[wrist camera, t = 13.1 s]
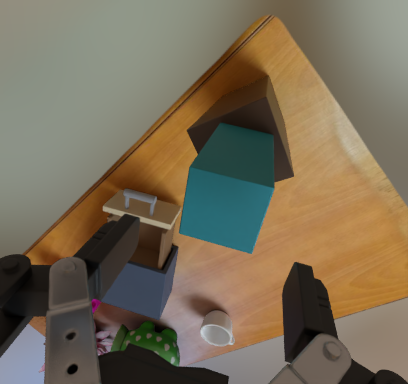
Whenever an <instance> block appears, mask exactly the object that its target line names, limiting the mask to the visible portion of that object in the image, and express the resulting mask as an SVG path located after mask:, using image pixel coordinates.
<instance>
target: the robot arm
mask: <svg viewBox="0 0 408 384" xmlns="http://www.w3.org/2000/svg"><path fill="white" fill-rule="evenodd" d="M139 228H140V218H139V217H136V216H133V215H129V214H124V215H123V216H122V217H121V218H120V219H119V220H118V221H114V220H112V221H110V222H108V223H106V224H104V225H103V226H102V227H101V228H100V229H99V230H98V231H97V232H96V233H95V234H94V235H93V236H92V238H90V239H89V240H88V241H87V242H86V243H85V244H84V245H83V246H82V247H81V249H80V250H79V251H78V252H77V253H76V254H75V255H74V256H73V257H66V258H63V259H60V260H58V261H57V262H55V263H54V264H53V265H31V262H30V259H29V258H28V257H27V256H25V255H20V254H15V255H9V256H5V257H3V258H0V357H1V356H2V355H3V353H5V351H6V350H7V349H8V348H9V346H10V345H11V344H12V343H13V341H14V340H15V339H16V338H17V336H18V335H19V334H20V333H21V331H22V330H23V329H24V328H25V327H26V325H27V324H28V323H29V322H30V320H31V319H32V318H33V317H34V316H46V343H45V346H46V347H45V377H44V378H45V379H44V384H228V379H229V376H226V375H223V374H221V373H218V372H215V371H212V370H209V369H206V368H196V367H179V366H175V365H173V364H171V363H170V362H168V361H167V360H165V359H164V358H163V357H161V356H160V355H158V354H157V353H155V352H154V351H152V350H149V349H146V348H143V347H140V346H137V345H134V344H131V343H128V345H127V347H126V349H125V351H112V352H108V353H105V354H101V355H99V356H98V352H97V344H96V336H95V327H94V319H93V311H92V303H91V301H92V300H93V299H96V300H99V301H102V299H103V298H104V296H105V295H106V293H107V292H108V290H109V289H110V287H111V286H112V284H113V283H114V281H115V280H116V279H117V277H118V276H119V274H120V273H121V271H122V270H123V268H124V267H125V265H126V264H127V262H128V261H129V259H130V258H131V256H132V255H133V253H134V252H135V250H136V248H137V245H138V241H139ZM282 302H283V326H284V349H285V361H286V362H289V363H291V364H287V365H286V366H285V367H284V368H283V369H282V370H281V371H280V372H279V373H278V374H277V375H276V376H275V377H274V378H273V379H272V380H271V381H270V383H269V384H408V383H407V382H406V381H405V380H404V379H403V378H402V377H401V376H399V375H398V374H396V373H394V372H392V371H389V370H379V371H378V372H377V373H376V374H375V373H373V372H371V371H370V370H368V369H367V368H365V367H363V366H362V365H360V364H358V363H357V362H355V361H354V360H353V359H352V358H351V356H350V354H349V351H348V350H347V348H346V347H345V346H344V345H343V343H342V342H341V341H340V340H338V336H337V332H336V327H335V323H334V319H333V314H332V310H331V305H330V301H329V297H328V292H327V289H326V288H325V286H324V285H323V283H322V282H321V280H318V279H315V278H314V275H313V270H312V267H311V266H308V265H305V264H301V263H298V262H295V263H294V264H293V266H292V269H291V271H290V273H289V275H288V277H287V280H286V282H285V284H284V287H283V293H282Z"/></svg>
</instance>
